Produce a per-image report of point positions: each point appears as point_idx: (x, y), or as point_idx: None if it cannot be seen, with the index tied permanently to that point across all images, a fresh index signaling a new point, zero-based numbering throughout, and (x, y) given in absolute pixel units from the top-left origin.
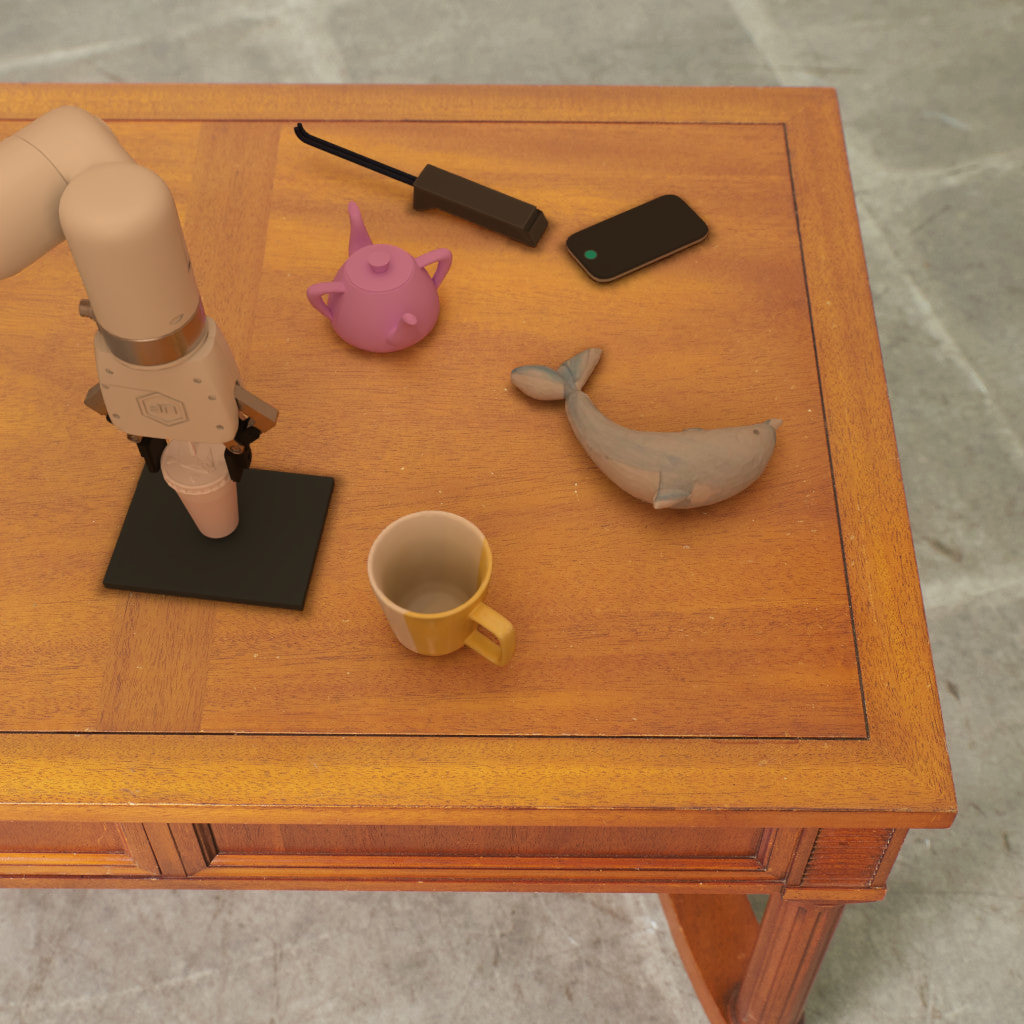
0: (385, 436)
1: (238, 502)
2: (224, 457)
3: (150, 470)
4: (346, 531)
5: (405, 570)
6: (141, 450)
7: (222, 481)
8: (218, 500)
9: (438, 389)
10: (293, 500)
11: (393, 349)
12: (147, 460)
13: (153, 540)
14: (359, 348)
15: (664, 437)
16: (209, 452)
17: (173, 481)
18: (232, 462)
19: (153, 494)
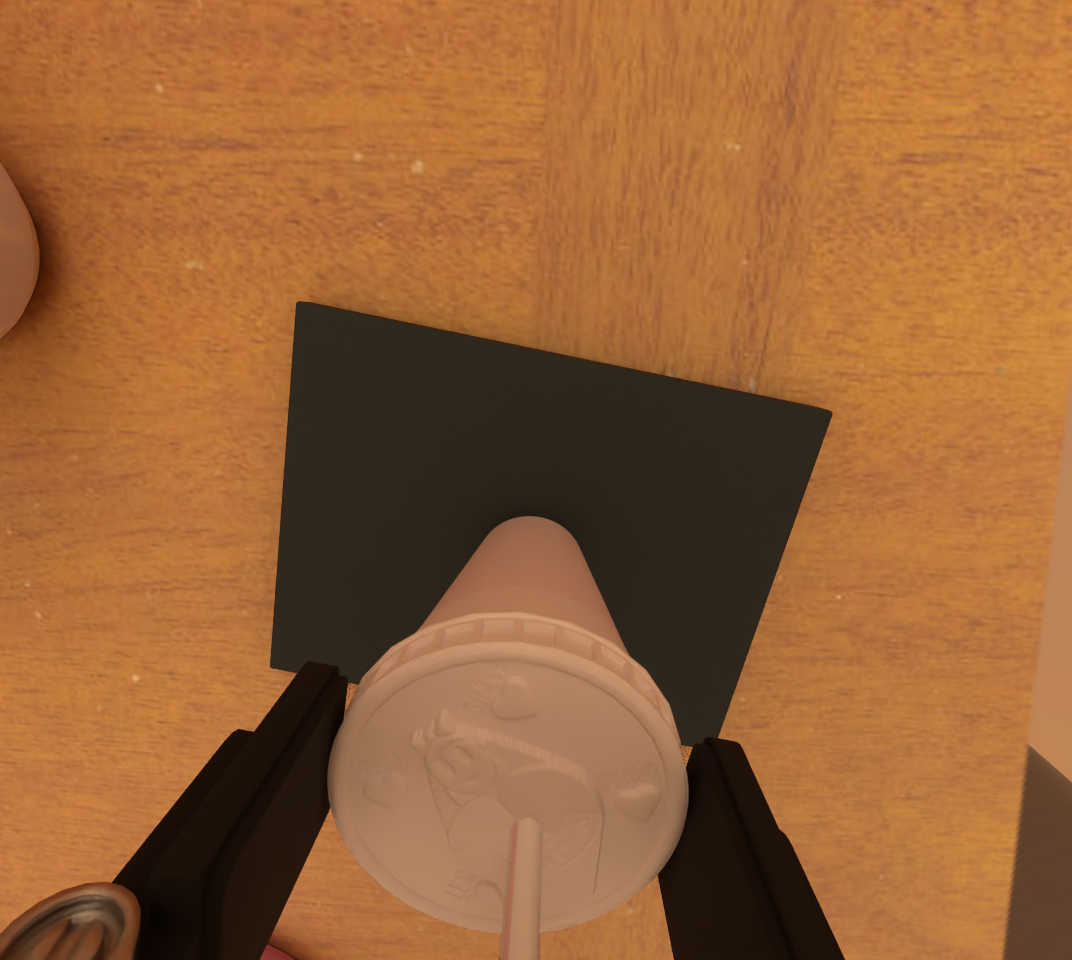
0: (188, 756)
1: None
2: (242, 847)
3: (737, 755)
4: (235, 527)
5: None
6: (825, 935)
7: (387, 671)
8: (458, 595)
9: (97, 850)
10: (356, 614)
11: None
12: (766, 830)
13: (697, 528)
14: (261, 958)
15: None
16: (449, 827)
17: (620, 689)
18: (208, 799)
19: (698, 655)
